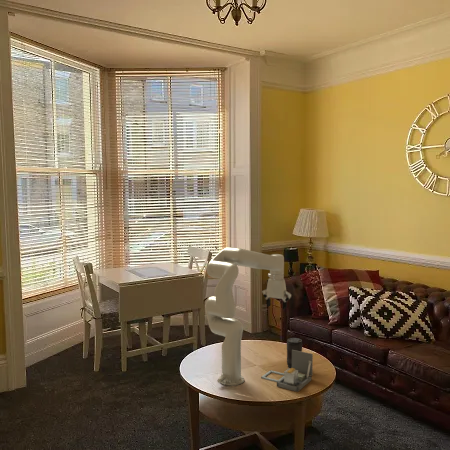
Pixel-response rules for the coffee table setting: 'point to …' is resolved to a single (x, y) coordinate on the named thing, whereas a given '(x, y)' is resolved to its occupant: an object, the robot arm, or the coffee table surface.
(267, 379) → the tray
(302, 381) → the case
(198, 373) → the coffee table surface
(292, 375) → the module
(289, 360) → the camera lens
